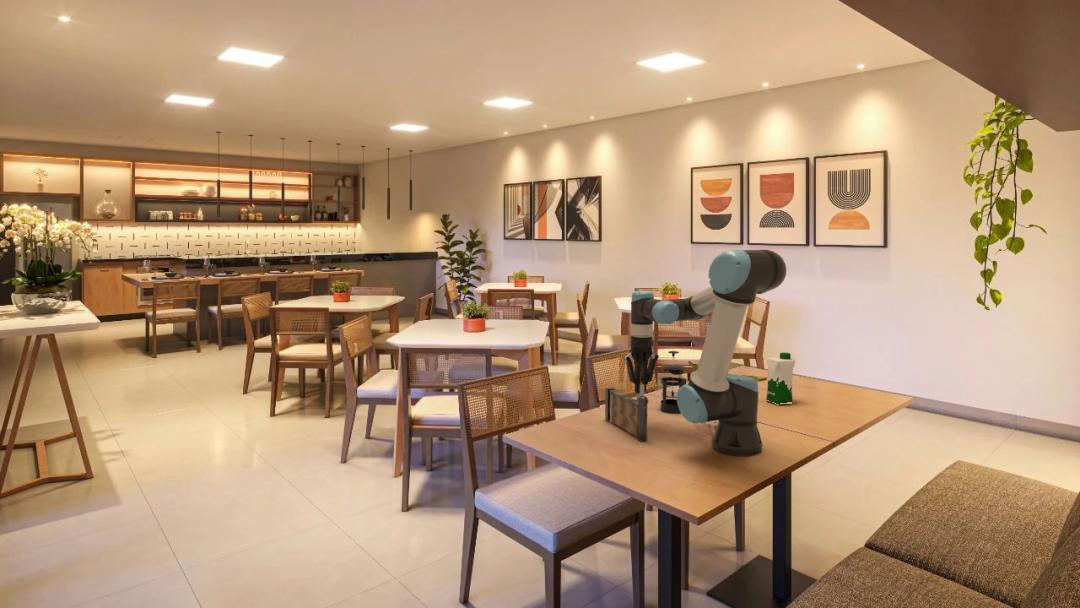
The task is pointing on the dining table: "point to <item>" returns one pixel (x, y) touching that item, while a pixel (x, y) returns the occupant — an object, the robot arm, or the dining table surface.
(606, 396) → the latch post
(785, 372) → the milk carton
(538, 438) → the dining table surface
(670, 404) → the french press
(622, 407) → the gate
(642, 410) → the gate post
